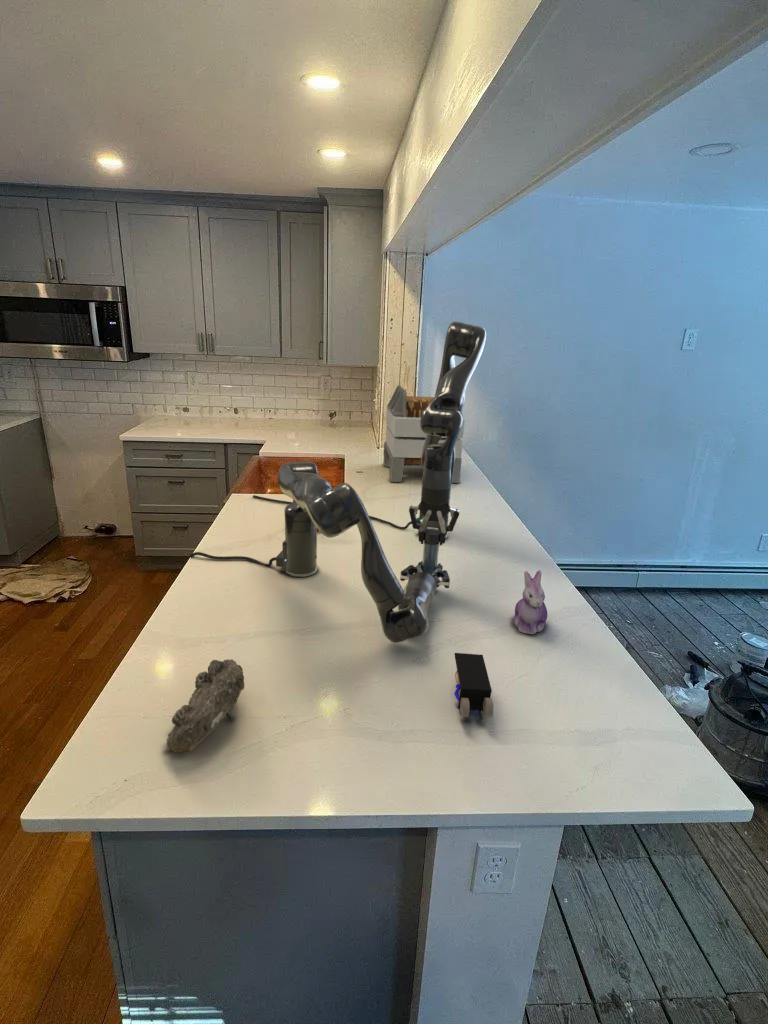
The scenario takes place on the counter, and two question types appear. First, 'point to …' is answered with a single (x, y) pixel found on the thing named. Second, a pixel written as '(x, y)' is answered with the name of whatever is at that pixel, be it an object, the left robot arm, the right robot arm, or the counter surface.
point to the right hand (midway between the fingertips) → (431, 543)
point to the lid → (432, 535)
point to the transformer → (410, 435)
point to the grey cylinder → (430, 557)
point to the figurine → (531, 606)
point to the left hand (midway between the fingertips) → (431, 565)
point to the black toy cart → (472, 685)
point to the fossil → (206, 705)
